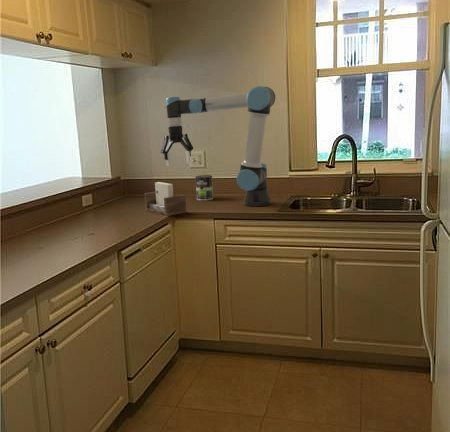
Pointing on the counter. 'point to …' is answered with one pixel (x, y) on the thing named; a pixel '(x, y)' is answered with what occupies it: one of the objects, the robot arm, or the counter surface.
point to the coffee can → (204, 187)
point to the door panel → (163, 192)
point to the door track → (165, 204)
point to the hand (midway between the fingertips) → (178, 164)
